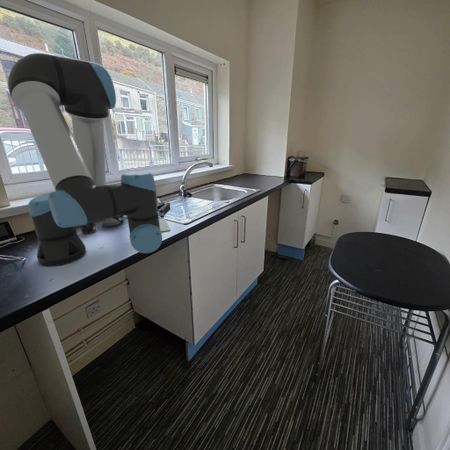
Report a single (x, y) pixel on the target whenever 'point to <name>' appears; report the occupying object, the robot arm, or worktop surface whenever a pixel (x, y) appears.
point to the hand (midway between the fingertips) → (139, 203)
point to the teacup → (110, 222)
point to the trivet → (163, 225)
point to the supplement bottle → (88, 228)
